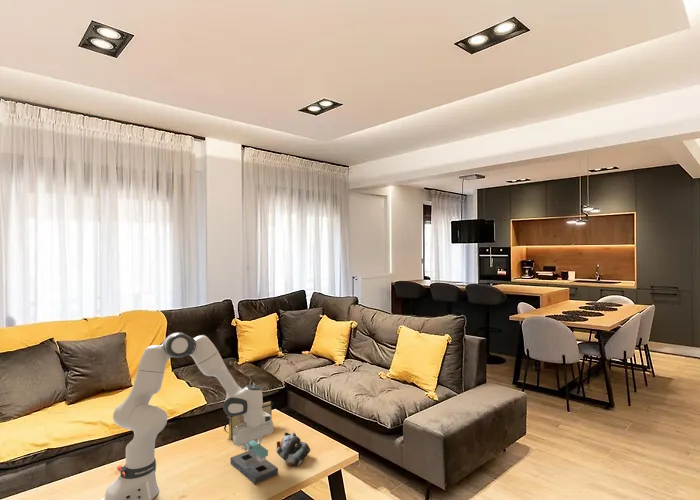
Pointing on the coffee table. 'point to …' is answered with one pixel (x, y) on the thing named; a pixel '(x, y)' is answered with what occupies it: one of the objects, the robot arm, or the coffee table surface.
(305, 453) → the lucky cat figurine
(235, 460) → the hole plate
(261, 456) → the peg strip
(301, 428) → the coffee table surface
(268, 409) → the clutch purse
